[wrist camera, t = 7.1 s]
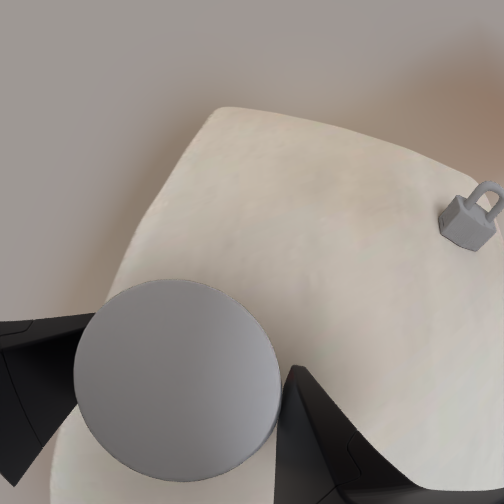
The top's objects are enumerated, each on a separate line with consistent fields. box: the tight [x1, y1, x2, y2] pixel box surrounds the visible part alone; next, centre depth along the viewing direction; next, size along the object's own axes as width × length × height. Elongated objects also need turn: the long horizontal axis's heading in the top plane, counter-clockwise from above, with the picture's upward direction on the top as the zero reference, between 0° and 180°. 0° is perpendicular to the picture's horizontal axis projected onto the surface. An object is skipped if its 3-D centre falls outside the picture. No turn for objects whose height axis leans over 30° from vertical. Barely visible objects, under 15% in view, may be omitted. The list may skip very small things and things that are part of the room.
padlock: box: [439, 181, 504, 251], centre depth 24 cm, size 7×4×10 cm, turn 71°
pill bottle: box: [74, 279, 282, 482], centre depth 9 cm, size 6×6×10 cm
